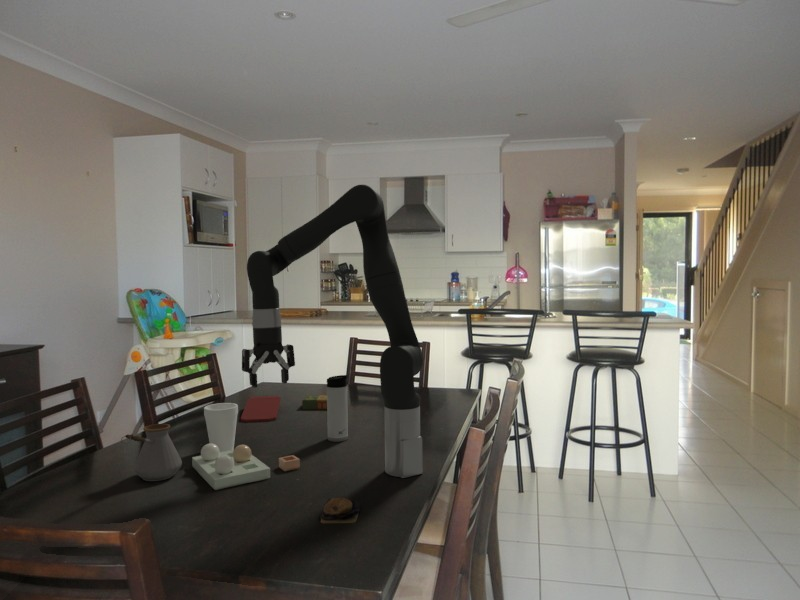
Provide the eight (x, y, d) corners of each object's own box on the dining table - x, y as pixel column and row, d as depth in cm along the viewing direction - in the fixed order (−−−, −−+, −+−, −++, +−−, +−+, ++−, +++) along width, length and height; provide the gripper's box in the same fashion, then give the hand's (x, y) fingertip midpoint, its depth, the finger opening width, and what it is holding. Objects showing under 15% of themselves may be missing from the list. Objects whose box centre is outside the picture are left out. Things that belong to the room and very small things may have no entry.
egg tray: (270, 478, 149) (270, 468, 149) (214, 490, 141) (214, 479, 141) (243, 456, 166) (242, 448, 166) (192, 466, 158) (191, 457, 158)
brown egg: (254, 463, 154) (253, 445, 154) (236, 466, 152) (235, 448, 152) (248, 459, 159) (247, 441, 158) (230, 462, 156) (230, 444, 156)
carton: (344, 410, 221) (343, 399, 221) (301, 410, 222) (301, 399, 222) (347, 405, 230) (347, 394, 230) (306, 405, 231) (306, 394, 230)
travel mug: (345, 442, 179) (344, 377, 178) (324, 441, 180) (323, 376, 179) (351, 436, 185) (350, 373, 184) (331, 435, 186) (330, 373, 185)
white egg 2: (237, 475, 146) (236, 456, 146) (217, 479, 143) (217, 459, 143) (231, 470, 150) (230, 451, 150) (212, 473, 147) (211, 454, 147)
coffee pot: (147, 468, 157) (145, 413, 157) (189, 468, 157) (188, 413, 156) (103, 499, 136) (100, 435, 135) (151, 500, 135) (149, 435, 135)
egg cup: (299, 468, 156) (299, 459, 156) (285, 471, 153) (284, 462, 153) (293, 464, 159) (293, 455, 159) (278, 467, 157) (278, 457, 157)
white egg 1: (222, 462, 156) (221, 444, 156) (203, 465, 153) (203, 447, 153) (216, 457, 160) (216, 440, 160) (198, 460, 157) (198, 443, 157)
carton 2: (276, 431, 206) (281, 404, 231) (275, 418, 205) (281, 393, 230) (240, 433, 205) (250, 406, 229) (240, 419, 204) (249, 394, 228)
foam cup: (229, 443, 179) (228, 401, 178) (245, 449, 172) (243, 406, 172) (199, 450, 172) (198, 406, 172) (214, 457, 166) (213, 411, 165)
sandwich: (357, 526, 122) (357, 508, 121) (317, 526, 122) (316, 508, 122) (361, 505, 132) (361, 489, 132) (324, 505, 132) (324, 489, 132)
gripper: (246, 328, 151) (249, 390, 152) (297, 324, 159) (300, 383, 160) (236, 326, 157) (239, 387, 158) (285, 322, 165) (288, 380, 166)
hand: (269, 385), depth 159 cm, fingers open, 8 cm apart
